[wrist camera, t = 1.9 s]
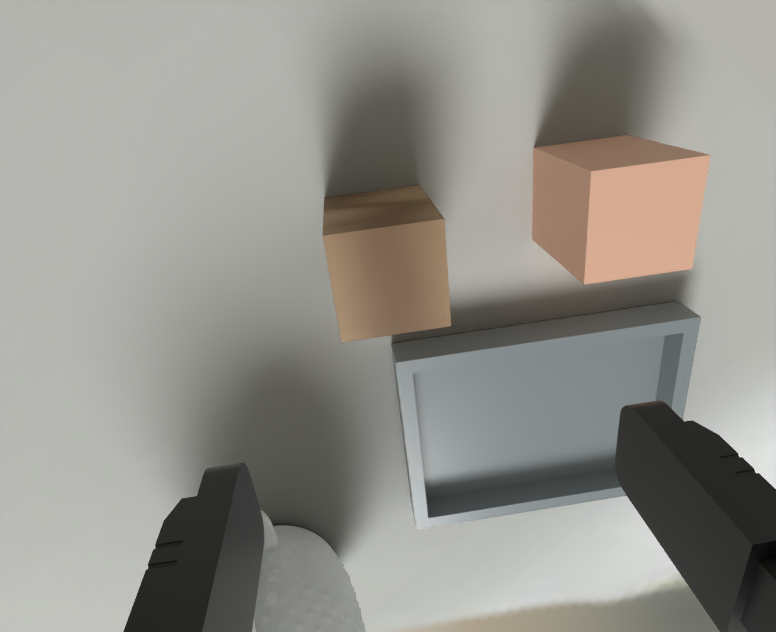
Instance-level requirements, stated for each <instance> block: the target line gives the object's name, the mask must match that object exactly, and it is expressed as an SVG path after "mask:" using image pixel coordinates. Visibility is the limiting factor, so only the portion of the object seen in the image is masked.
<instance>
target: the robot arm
mask: <svg viewBox="0 0 776 632" xmlns="http://www.w3.org/2000/svg"><path fill="white" fill-rule="evenodd" d="M615 469H616V474H617V477H618V480H619V483H620V485H621V487H622V489H623V491H624V492H625V494H626V495H627V497H628V498H629V499H630V501H631V502H632V504H633V505H634V507H635V508H636V510H637V511H638V513H639V514H640V516H641V517H642V518H643V520H644V521H645V523H646V524H647V526H648V527H649V529H650V530H651V532H652V533H653V534H654V536H655V537H656V539H657V540H658V542H659V543H660V545H661V546H662V548H663V549H664V551H665V552H666V553H667V555H668V556H669V558H670V559H671V561H672V562H673V564H674V565H675V567H676V568H677V569H678V571H679V572H680V574H681V575H682V577H683V578H684V580H685V581H686V583H687V584H688V586H689V587H690V588H691V590H692V591H693V593H694V594H695V596H696V597H697V599H698V600H699V601H700V603H701V604H702V606H703V607H704V609H705V610H706V612H707V613H708V615H709V616H710V618H711V619H712V620H713V622H714V623H715V625H716V626H717V628H718V629H719V631H720V632H776V489H775V488H774V487H773V486H771V485H770V484H769V483H768V482H767V481H766V480H765V479H764V478H763V477H762V476H761V475H760V474H759V473H757V474H756V473H755V471H754V468H753V467H752V466H751V465H750V464H749V463H747V462H746V461H745V460H744V459H743V458H742V457H741V458H740V457H739V456H738V453H737V452H736V451H735V450H734V449H733V448H732V447H731V446H730V445H729V444H728V443H727V442H726V441H724V440H723V439H722V438H721V437H720V436H719V435H718V434H716V433H714V432H712V431H711V430H709V429H707V428H705V427H703V426H702V425H700V424H698V423H696V422H694V421H686V422H684V421H683V420H682V419H681V418H680V417H679V416H678V415H677V414H676V413H675V412H674V411H673V410H672V409H671V408H670V407H669V406H668V405H667V404H666V403H665V402H663V401H660V400H658V401H651V402H645V403H638V404H632V405H626V406H624V407H623V408H622V409H621V412H620V419H619V428H618V437H617V446H616V455H615ZM155 545H156V548H155V549H154V550H153V552H152V555H151V558H150V561H149V563H148V570H146V571H145V574H144V577H143V580H142V582H141V585H140V588H139V591H138V593H137V596H136V599H135V602H134V604H133V607H132V610H131V613H130V615H129V618H128V621H127V623H126V626H125V629H124V632H252V628H253V621H254V614H255V607H256V600H257V592H258V585H259V578H260V571H261V564H262V556H263V549H264V524H263V518H262V514H261V511H260V507H259V504H258V501H257V497H256V494H255V491H254V488H253V484H252V481H251V478H250V474H249V471H248V468H247V466H246V465H245V464H244V463H240V464H233V465H227V466H220V467H214V468H208V469H207V470H206V471H205V473H204V475H203V478H202V482H201V485H200V488H199V491H198V495H197V496H195V497H189V498H182V499H181V500H180V502H179V503H178V504H177V505H176V507H175V508H174V509H173V510H172V511H171V513H170V514H169V515H168V516H167V518H166V519H165V520H164V522H163V525H162V528H161V530H160V533H159V536H158V539H157V541H156V544H155Z"/></svg>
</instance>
